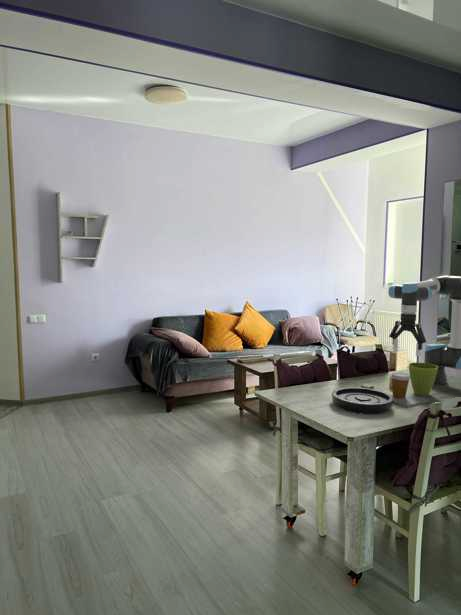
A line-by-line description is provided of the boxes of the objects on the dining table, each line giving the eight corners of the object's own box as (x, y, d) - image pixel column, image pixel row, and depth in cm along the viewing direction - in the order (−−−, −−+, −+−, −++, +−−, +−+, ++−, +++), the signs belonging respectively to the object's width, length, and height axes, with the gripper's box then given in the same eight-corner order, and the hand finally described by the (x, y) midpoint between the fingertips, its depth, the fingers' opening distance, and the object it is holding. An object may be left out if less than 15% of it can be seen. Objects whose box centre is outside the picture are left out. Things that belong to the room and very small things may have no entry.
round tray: (368, 395, 258) (320, 400, 248) (368, 384, 258) (320, 388, 247) (406, 412, 231) (354, 418, 220) (407, 400, 230) (355, 406, 219)
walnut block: (365, 392, 263) (365, 383, 262) (373, 394, 259) (374, 385, 259) (360, 394, 259) (360, 385, 259) (368, 396, 256) (369, 387, 255)
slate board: (402, 394, 260) (402, 392, 260) (428, 402, 247) (428, 400, 247) (380, 399, 250) (380, 397, 250) (407, 407, 237) (407, 405, 237)
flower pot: (439, 399, 253) (441, 369, 251) (409, 396, 256) (411, 367, 254) (432, 391, 268) (434, 363, 266) (405, 389, 270) (406, 361, 269)
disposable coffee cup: (409, 396, 254) (411, 374, 253) (406, 400, 246) (408, 377, 244) (391, 393, 259) (393, 371, 257) (387, 397, 250) (389, 374, 249)
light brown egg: (392, 386, 277) (393, 374, 276) (400, 388, 273) (400, 376, 272) (387, 387, 274) (387, 375, 273) (394, 389, 270) (395, 377, 269)
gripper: (383, 310, 253) (381, 350, 256) (426, 316, 233) (423, 358, 235) (392, 310, 257) (390, 348, 260) (435, 315, 237) (432, 357, 239)
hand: (406, 353), depth 247 cm, fingers open, 13 cm apart
